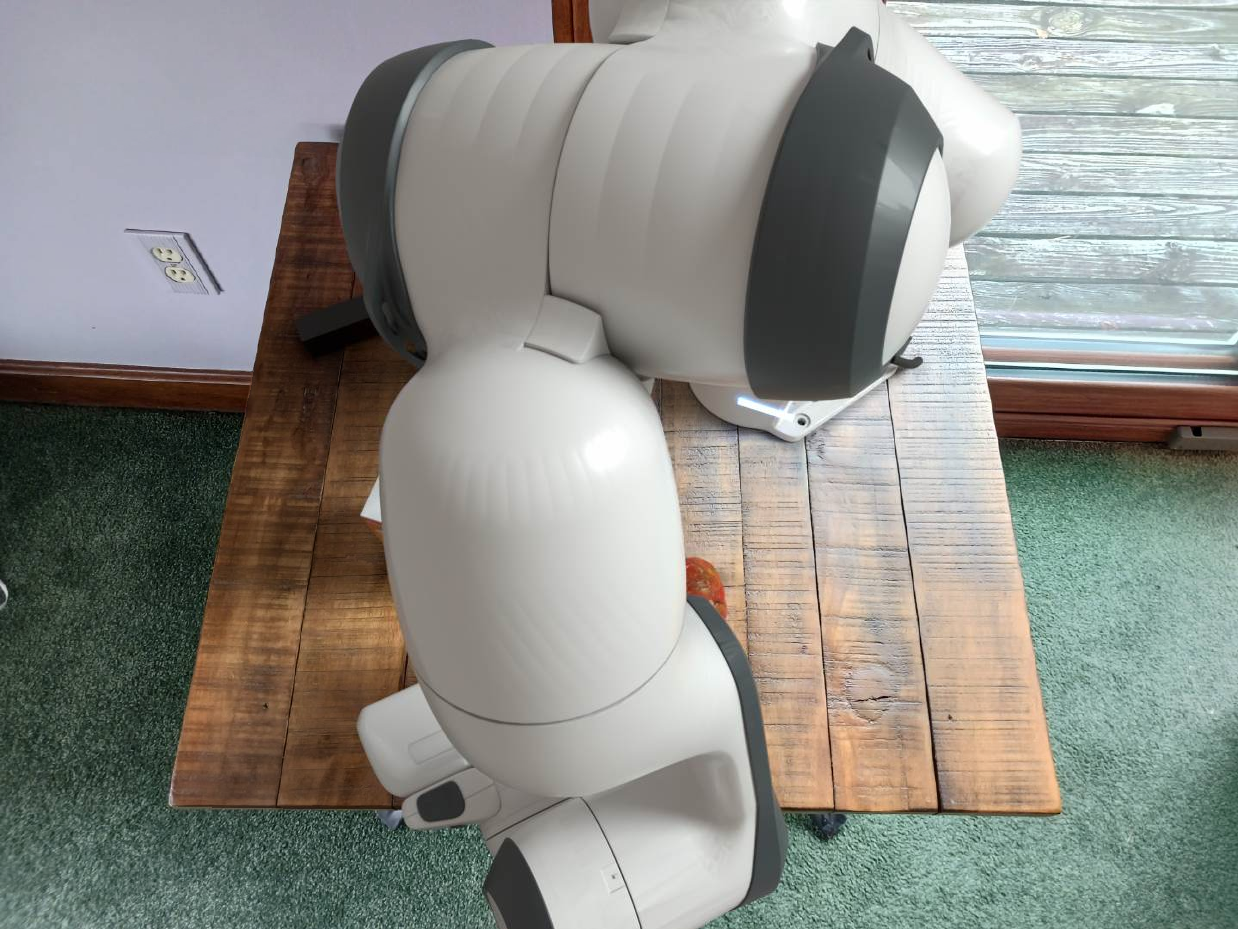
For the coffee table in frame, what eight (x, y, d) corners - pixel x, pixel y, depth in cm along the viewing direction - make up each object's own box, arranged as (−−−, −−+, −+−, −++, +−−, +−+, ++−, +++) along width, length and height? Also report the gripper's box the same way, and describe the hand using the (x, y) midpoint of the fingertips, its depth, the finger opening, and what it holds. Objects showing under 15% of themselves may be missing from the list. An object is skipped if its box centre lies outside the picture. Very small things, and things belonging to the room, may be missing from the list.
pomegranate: (676, 566, 79) (608, 595, 72) (725, 530, 74) (659, 558, 67) (715, 633, 77) (651, 670, 70) (768, 600, 73) (705, 637, 65)
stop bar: (411, 299, 89) (403, 279, 86) (420, 319, 88) (413, 300, 85) (305, 337, 87) (293, 319, 84) (313, 359, 86) (301, 341, 82)
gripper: (657, 706, 58) (580, 540, 63) (384, 838, 54) (325, 650, 59) (653, 717, 64) (583, 563, 69) (406, 836, 60) (351, 665, 65)
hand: (462, 604), depth 64 cm, fingers closed
